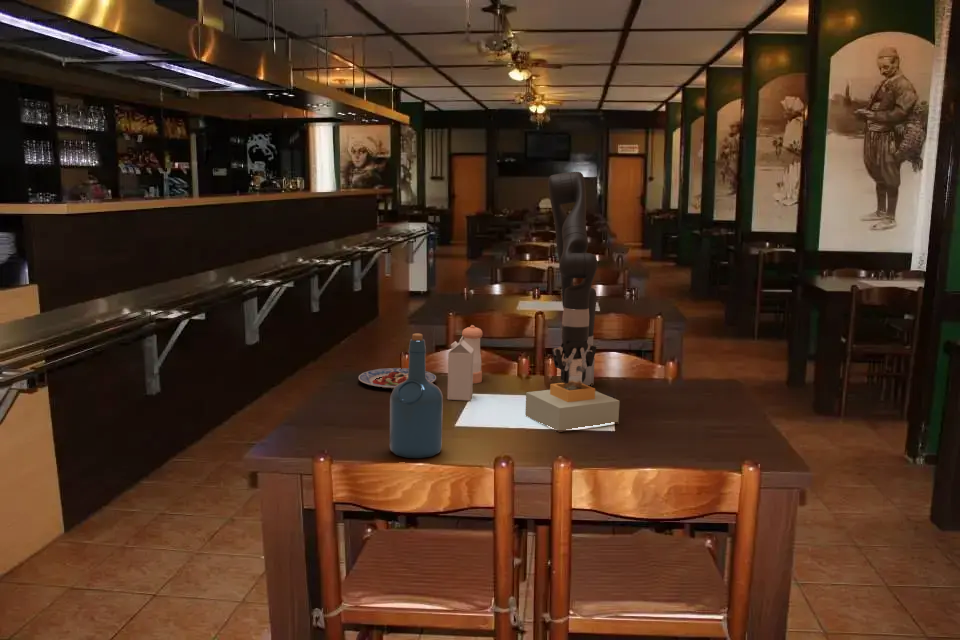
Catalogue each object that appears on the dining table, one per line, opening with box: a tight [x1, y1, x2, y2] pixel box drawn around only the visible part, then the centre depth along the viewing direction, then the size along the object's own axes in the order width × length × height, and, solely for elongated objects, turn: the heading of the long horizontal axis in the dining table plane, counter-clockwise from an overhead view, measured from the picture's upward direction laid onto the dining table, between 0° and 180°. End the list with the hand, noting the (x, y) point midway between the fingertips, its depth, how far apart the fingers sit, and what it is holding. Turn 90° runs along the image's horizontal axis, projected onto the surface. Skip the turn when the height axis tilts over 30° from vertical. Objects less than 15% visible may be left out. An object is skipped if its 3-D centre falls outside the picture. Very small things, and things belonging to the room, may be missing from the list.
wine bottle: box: [389, 333, 444, 459], centre depth 206 cm, size 14×13×30 cm
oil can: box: [564, 357, 585, 390], centre depth 237 cm, size 7×5×10 cm
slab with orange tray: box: [524, 382, 620, 430], centre depth 239 cm, size 20×19×10 cm
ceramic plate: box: [358, 367, 437, 390], centre depth 277 cm, size 26×26×3 cm
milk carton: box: [447, 335, 474, 401], centre depth 259 cm, size 7×7×19 cm
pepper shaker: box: [461, 324, 484, 384], centre depth 281 cm, size 7×7×19 cm
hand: (572, 381), depth 238 cm, fingers closed on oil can, 5 cm apart
